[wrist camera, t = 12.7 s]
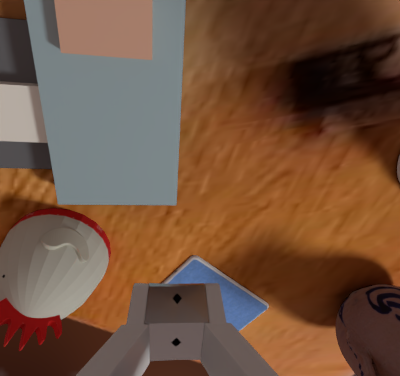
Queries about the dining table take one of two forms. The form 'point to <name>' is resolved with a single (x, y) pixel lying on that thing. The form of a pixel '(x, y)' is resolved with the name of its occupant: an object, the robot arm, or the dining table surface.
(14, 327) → the kitchen timer
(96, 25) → the terracotta card
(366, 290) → the ceramic pitcher
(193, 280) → the tablet computer
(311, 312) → the dining table surface
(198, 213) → the dining table surface
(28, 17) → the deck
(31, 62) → the mat
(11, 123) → the cream card
